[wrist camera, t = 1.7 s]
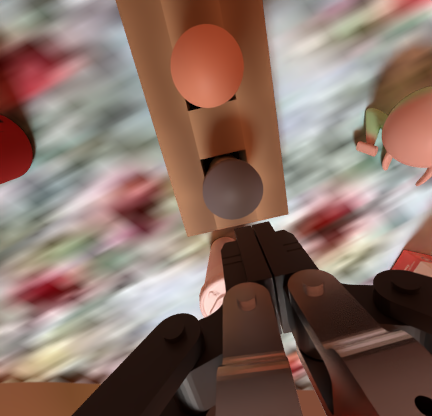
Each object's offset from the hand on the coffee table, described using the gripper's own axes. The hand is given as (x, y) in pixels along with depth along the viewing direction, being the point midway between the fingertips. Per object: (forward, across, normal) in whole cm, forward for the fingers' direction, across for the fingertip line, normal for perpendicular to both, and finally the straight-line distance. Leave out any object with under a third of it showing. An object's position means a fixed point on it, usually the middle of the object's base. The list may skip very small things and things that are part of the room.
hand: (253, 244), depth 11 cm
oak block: (+18, 0, -8) cm, 20 cm away
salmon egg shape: (+15, 0, -8) cm, 17 cm away
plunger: (+14, 0, 0) cm, 14 cm away
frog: (+18, -20, +1) cm, 27 cm away
